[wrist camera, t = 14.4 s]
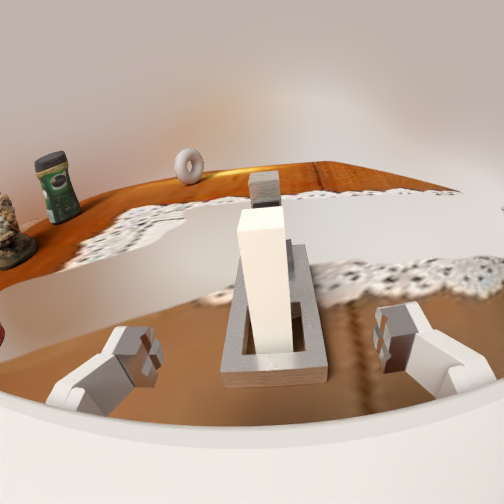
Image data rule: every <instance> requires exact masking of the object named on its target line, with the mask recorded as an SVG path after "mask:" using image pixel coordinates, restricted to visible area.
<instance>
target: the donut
mask: <svg viewBox="0 0 504 504" xmlns="http://www.w3.org/2000/svg"><path fill="white" fill-rule="evenodd" d="M189 160H190V161H191V163H192V170H191V172H188V170H187V163H188V161H189ZM174 167H175V173H176V176H177V178H178V179H179V180H180V181H181V182H182V183H184V184H188V185H190V184H194V183H196V182H197V181H198V180H199V179H200V178H201V176H202V174H203V169H204V162H203V159H202V156H201V155H200V153H199V152H198V151H196V150H195V149H192V148H188V149H184V150H182V151H181V152H180V153H179V154H178V155H177V158H176V160H175V165H174Z"/></svg>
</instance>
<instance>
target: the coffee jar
mask: <svg viewBox="0 0 504 504" xmlns="http://www.w3.org/2000/svg"><path fill="white" fill-rule="evenodd" d="M35 170H36V176H37V177H38V179H39V180H40V182H41V186H42V189H43V193H44V198H45V203H46V208H47V213H48V217H49V220H50V222H51V223H52V224H59V223H62V222H65V221H67V220H69V219H71V218H73V217H75V216H76V215H78V214H79V213H80V212H81V207H80V205H79V202H78V200H77V197H76V195H75V192H74V190H73V187H72V184H71V181H70V178H69V174H68V161H67V158H66V155H65V153H64V151H58V152H54V153H51V154H48V155H46V156H44V157H42V158H40V159H38V160H36V161H35Z"/></svg>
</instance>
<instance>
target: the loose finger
mask: <svg viewBox="0 0 504 504" xmlns="http://www.w3.org/2000/svg"><path fill="white" fill-rule="evenodd" d="M237 235H238V242H239V249H240V255H241V261H242V268H243V274H244V281H245V287H246V293H247V299H248V306H249V312H250V318H251V324H252V331H253V337H254V343H255V349H256V355H257V354H275V353H290V352H293V340H292V323H291V307H290V292H289V278H288V264H287V251H286V239H285V227H284V217H283V206H278V207H266V208H256V209H246V210H242V213H241V217H240V221H239V225H238V229H237Z"/></svg>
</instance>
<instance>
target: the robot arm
mask: <svg viewBox="0 0 504 504" xmlns="http://www.w3.org/2000/svg"><path fill="white" fill-rule="evenodd" d="M375 318H376V320H377V323H376V324H375V326H374V331H373V339H374V345H375V349H376V351H377V352H378V353H380V358H379V361H380V364H381V367H382V370H383V374H385V373H392V372H398V371H404V370H406V372H407V373H408V374H409V375H410V376H411V377H413V378H414V379H415V380H416V381H417V382H418V383H419V384H421V385H422V386H423V387H424V388H425V389H426V390H427V391H429V392H430V393H431V394H432V395H433V396H434V397H435V398H436V399H435V400H434V401H430V402H426V403H422V404H418V405H414V406H410V407H405V408H401V409H396V410H391V411H386V412H381V413H376V414H370V415H365V416H358V417H352V418H345V419H338V420H331V421H322V422H313V423H302V424H290V425H274V426H245V427H218V426H189V425H173V424H161V423H150V422H141V421H133V420H125V419H118V418H111V417H107V416H108V415H109V414H110V413H111V412H112V411H113V410H114V409H115V408H116V407H117V406H118V405H119V404H120V403H121V402H122V401H123V400H124V399H125V398H126V396H127V395H128V394H129V393H130V392H131V391H132V390H133V389H134V387H145V388H154V386H155V383H156V380H157V377H158V373H157V371H156V370H157V369H158V368H160V367H161V365H162V362H163V349H162V346H161V343H160V342H159V341H157V340H156V339H155V337H156V332H155V330H154V328H153V327H151V326H117V327H116V328H115V329H114V331H113V332H112V334H111V336H110V338H109V340H108V341H107V343H106V345H105V347H104V349H103V351H102V353H101V354H97V355H95V356H94V357H92V358H91V359H90V360H88V361H87V362H85V363H84V364H83V365H81V366H80V367H78V368H77V369H75V370H74V371H73V372H71V373H70V374H68V375H67V376H66V377H64V378H63V379H61V380H60V381H58V382H57V383H56V384H55V386H54V388H53V390H52V392H51V394H50V395H49V397H48V399H47V401H46V403H45V404H43V403H39V402H36V401H32V400H28V399H25V398H21V397H18V396H15V395H12V394H8V393H5V392H2V391H0V504H504V378H501V379H499V380H497V379H496V377H495V375H494V373H493V372H492V370H491V368H490V366H489V364H488V363H487V361H486V359H485V357H484V356H482V355H480V354H478V353H477V352H475V351H473V350H472V349H470V348H468V347H466V346H465V345H463V344H461V343H459V342H458V341H456V340H454V339H452V338H451V337H449V336H447V335H445V334H444V333H442V332H440V331H438V330H437V329H435V330H433V329H432V327H431V326H430V324H429V322H428V320H427V318H426V317H425V315H424V313H423V311H422V310H421V308H420V306H419V304H418V303H417V302H416V301H414V302H409V303H403V304H399V305H393V306H386V307H380V308H377V310H376V314H375Z"/></svg>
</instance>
